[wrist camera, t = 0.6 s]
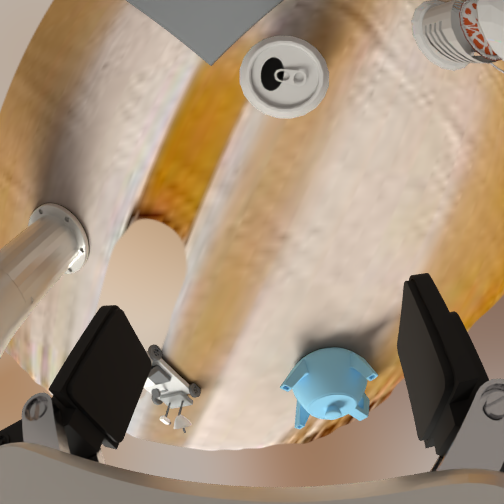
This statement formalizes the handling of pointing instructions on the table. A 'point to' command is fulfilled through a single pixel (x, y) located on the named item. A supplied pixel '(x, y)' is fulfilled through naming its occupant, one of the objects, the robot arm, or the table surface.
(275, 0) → the mat
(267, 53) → the can
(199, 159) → the table surface
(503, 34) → the french press
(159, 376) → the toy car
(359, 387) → the teapot
